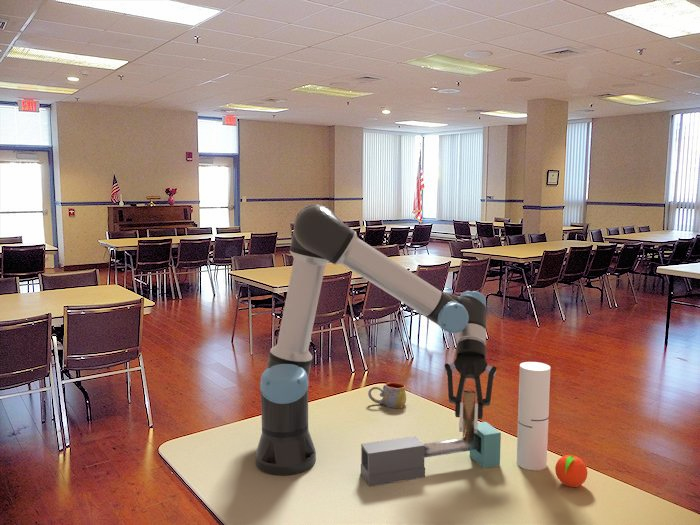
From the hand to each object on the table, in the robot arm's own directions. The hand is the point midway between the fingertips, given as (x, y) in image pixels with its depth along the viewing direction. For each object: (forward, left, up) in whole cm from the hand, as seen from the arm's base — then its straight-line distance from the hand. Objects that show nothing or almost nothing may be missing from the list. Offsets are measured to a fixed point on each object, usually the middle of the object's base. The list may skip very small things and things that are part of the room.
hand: (468, 430), depth 139 cm
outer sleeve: (-3, -18, -10) cm, 21 cm away
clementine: (+14, +19, -11) cm, 25 cm away
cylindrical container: (+2, +17, -10) cm, 20 cm away
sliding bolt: (-3, -2, -7) cm, 8 cm away
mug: (-46, -3, -11) cm, 48 cm away
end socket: (-3, +7, -10) cm, 13 cm away
